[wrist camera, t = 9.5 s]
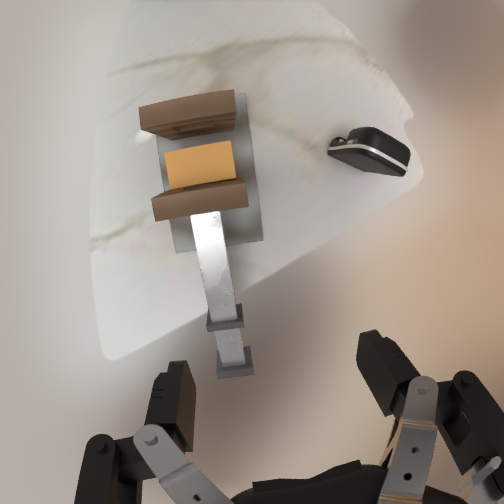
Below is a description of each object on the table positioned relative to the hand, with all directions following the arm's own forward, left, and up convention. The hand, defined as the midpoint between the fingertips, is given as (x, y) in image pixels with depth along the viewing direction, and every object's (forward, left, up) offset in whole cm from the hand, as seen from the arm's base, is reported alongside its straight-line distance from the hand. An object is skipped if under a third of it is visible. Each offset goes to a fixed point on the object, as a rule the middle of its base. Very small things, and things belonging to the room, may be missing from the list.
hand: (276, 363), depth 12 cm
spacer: (-9, -4, -27) cm, 28 cm away
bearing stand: (-8, -4, -28) cm, 29 cm away
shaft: (+5, -4, -20) cm, 21 cm away
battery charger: (-9, +16, -28) cm, 34 cm away
